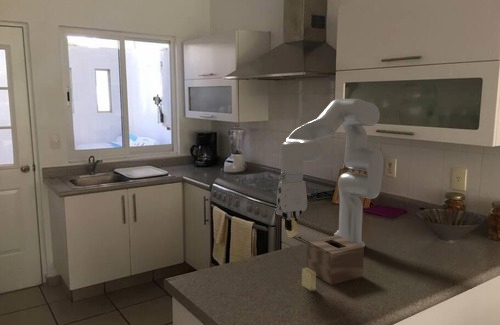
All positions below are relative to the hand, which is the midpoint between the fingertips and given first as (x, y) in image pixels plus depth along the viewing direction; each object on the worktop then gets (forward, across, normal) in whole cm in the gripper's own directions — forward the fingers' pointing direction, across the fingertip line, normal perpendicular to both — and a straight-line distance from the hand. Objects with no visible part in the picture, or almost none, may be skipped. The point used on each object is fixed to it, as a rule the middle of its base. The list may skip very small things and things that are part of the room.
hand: (290, 229), depth 146 cm
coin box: (+17, +15, -6) cm, 23 cm away
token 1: (+1, 0, -2) cm, 2 cm away
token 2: (+17, 0, -11) cm, 20 cm away
